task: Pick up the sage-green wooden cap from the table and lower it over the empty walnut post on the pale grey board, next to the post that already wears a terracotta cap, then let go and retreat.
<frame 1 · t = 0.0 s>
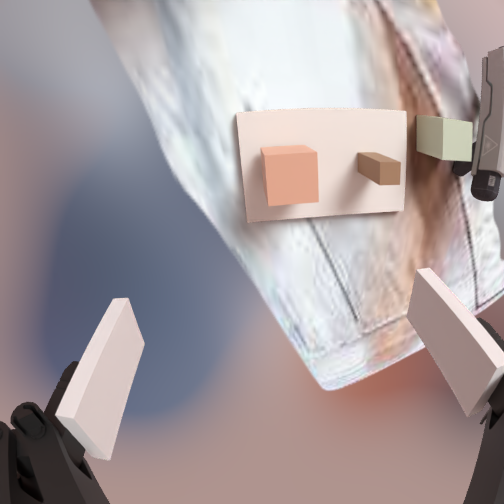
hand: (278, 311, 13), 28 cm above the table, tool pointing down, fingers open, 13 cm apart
grey long curved bar: (472, 113, 35), on the table
stand: (327, 161, 38), on the table
sage cap: (431, 133, 36), on the table
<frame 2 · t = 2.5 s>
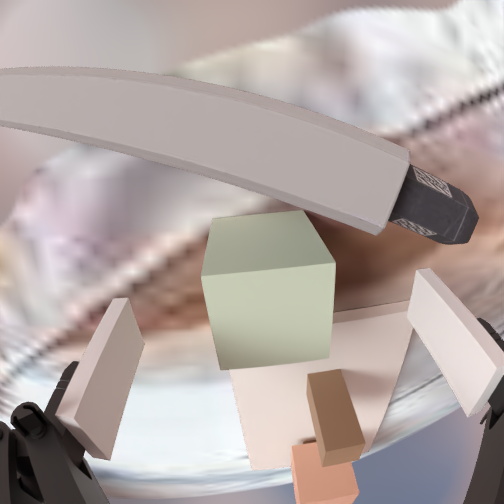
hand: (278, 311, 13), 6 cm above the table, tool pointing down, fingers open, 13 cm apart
grey long curved bar: (173, 110, 15), on the table
stand: (316, 405, 26), on the table
sage cap: (261, 255, 19), on the table
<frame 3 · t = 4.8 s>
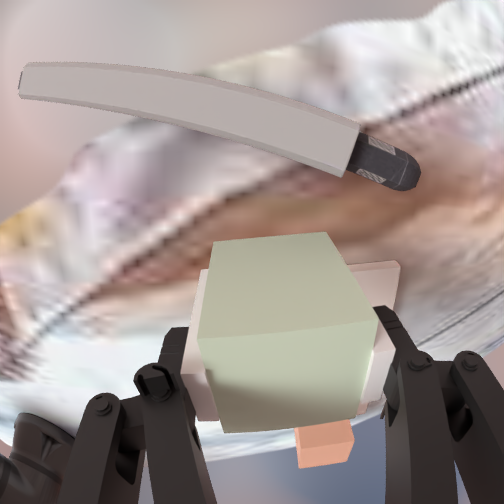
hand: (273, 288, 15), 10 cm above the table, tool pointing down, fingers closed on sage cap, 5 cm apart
grey long curved bar: (201, 101, 20), on the table
stand: (316, 358, 31), on the table
sage cap: (273, 284, 15), point 9 cm above the table, touching gripper
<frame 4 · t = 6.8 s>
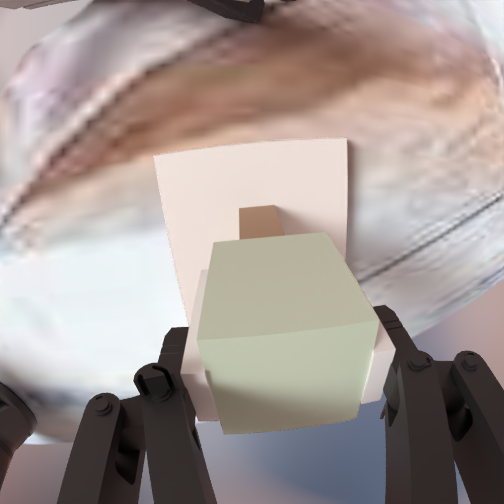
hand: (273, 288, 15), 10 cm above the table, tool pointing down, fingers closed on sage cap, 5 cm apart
stand: (261, 272, 27), on the table
sage cap: (273, 285, 15), point 10 cm above the table, touching gripper
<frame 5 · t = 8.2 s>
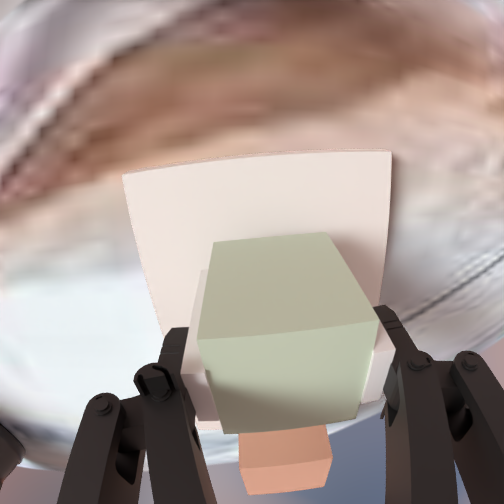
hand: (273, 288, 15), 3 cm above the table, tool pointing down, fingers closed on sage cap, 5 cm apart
stand: (270, 323, 20), on the table
sage cap: (273, 285, 15), point 3 cm above the table, touching gripper
when the fingers open (2 cm above the table, at t = 8.9 s): sage cap stays where it is, resting on stand.
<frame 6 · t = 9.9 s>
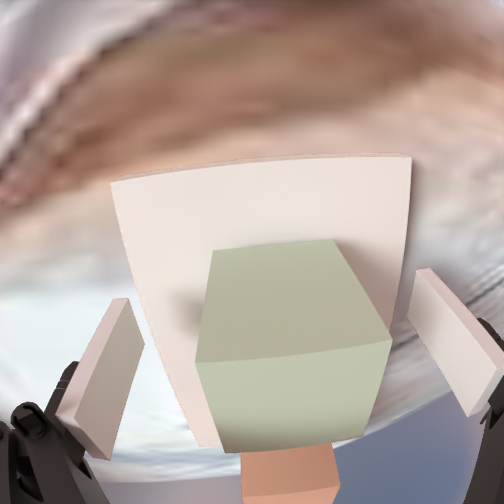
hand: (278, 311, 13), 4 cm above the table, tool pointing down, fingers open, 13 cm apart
stand: (275, 342, 19), on the table
sage cap: (276, 295, 14), point 2 cm above the table, touching stand
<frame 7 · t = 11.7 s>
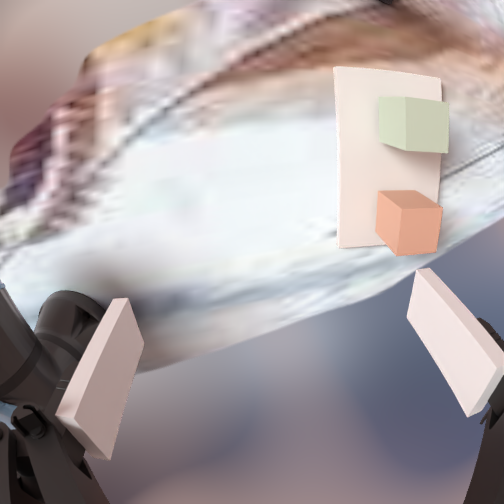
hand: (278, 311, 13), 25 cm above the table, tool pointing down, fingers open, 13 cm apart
stand: (390, 159, 34), on the table
sage cap: (399, 120, 30), point 2 cm above the table, touching stand
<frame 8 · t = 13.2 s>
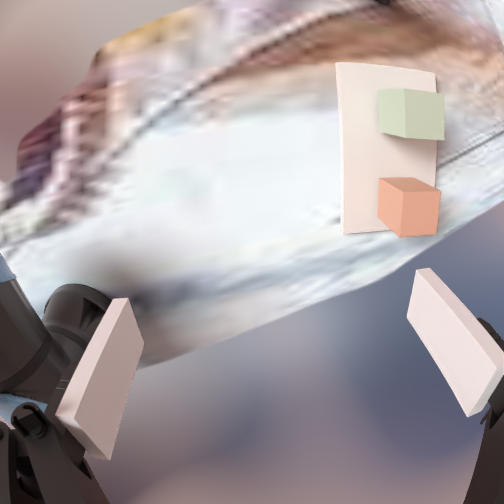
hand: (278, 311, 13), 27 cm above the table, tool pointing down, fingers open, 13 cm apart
stand: (389, 148, 36), on the table
sage cap: (397, 112, 32), point 2 cm above the table, touching stand
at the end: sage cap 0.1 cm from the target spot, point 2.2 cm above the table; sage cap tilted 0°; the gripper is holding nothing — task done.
